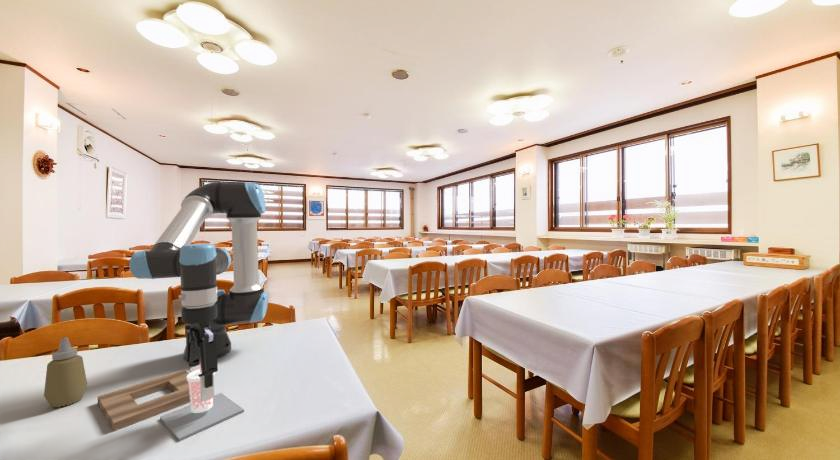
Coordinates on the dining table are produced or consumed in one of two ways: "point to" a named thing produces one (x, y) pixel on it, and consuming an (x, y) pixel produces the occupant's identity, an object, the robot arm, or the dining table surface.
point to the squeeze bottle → (65, 376)
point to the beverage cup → (197, 393)
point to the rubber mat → (200, 417)
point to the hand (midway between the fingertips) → (202, 394)
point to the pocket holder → (128, 412)
